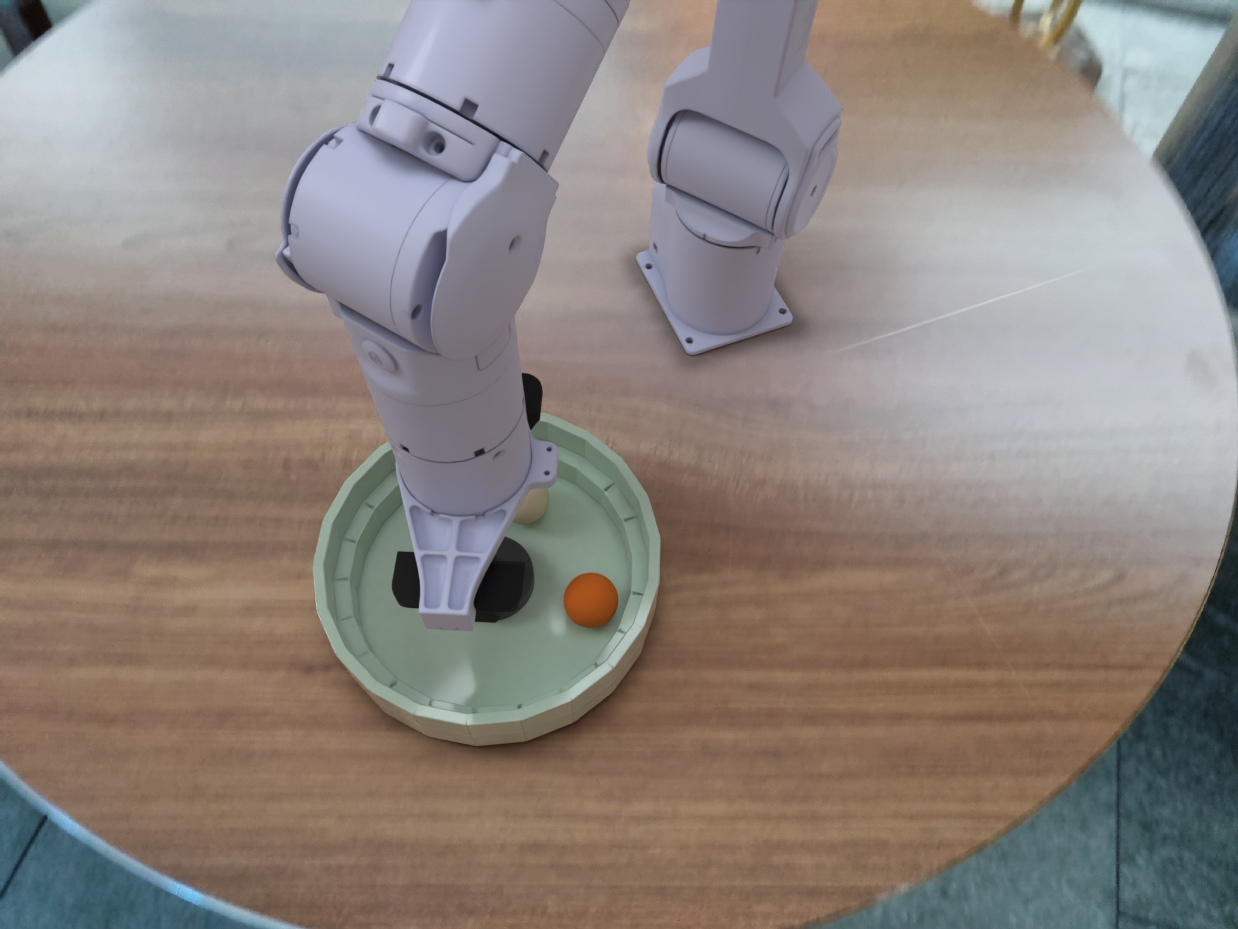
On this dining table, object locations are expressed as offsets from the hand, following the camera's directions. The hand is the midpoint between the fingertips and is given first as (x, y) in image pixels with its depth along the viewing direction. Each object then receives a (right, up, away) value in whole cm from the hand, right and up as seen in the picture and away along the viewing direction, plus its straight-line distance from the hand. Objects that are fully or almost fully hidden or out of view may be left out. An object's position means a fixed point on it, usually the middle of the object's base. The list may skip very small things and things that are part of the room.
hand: (487, 545), depth 48 cm
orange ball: (+5, -3, +2) cm, 7 cm away
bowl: (0, -3, +5) cm, 6 cm away
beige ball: (+1, +2, +5) cm, 6 cm away
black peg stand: (0, -2, +4) cm, 5 cm away
